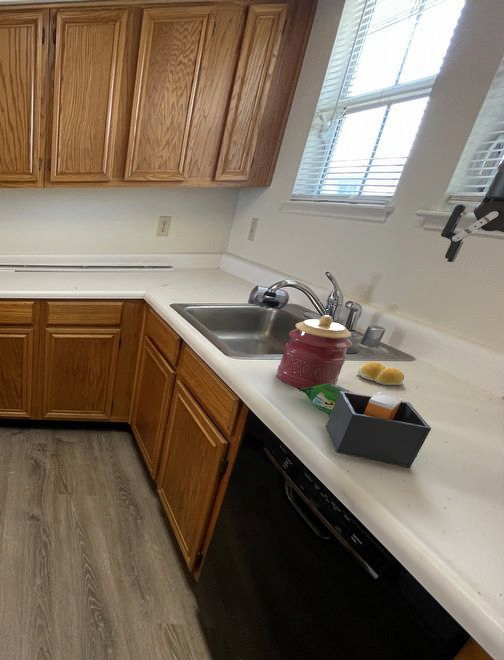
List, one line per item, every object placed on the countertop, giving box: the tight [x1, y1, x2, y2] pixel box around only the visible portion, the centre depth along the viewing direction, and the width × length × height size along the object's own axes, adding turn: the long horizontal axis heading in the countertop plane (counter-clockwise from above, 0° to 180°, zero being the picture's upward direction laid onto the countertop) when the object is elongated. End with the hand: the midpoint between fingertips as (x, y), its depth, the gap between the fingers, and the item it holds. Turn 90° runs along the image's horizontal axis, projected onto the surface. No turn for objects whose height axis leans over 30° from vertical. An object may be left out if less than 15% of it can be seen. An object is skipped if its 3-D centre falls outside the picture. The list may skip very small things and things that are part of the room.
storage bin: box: [325, 391, 432, 469], centre depth 81 cm, size 11×10×9 cm
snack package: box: [298, 384, 357, 415], centre depth 93 cm, size 7×16×5 cm, turn 21°
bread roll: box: [357, 361, 405, 386], centre depth 109 cm, size 8×9×4 cm
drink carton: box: [363, 391, 404, 420], centre depth 80 cm, size 4×5×10 cm
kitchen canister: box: [276, 314, 353, 389], centre depth 104 cm, size 13×13×18 cm
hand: (481, 265), depth 79 cm, fingers open, 8 cm apart
